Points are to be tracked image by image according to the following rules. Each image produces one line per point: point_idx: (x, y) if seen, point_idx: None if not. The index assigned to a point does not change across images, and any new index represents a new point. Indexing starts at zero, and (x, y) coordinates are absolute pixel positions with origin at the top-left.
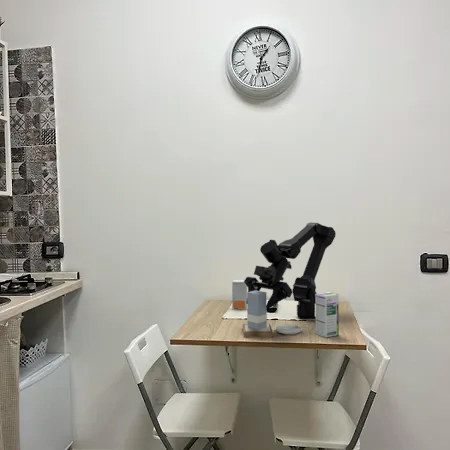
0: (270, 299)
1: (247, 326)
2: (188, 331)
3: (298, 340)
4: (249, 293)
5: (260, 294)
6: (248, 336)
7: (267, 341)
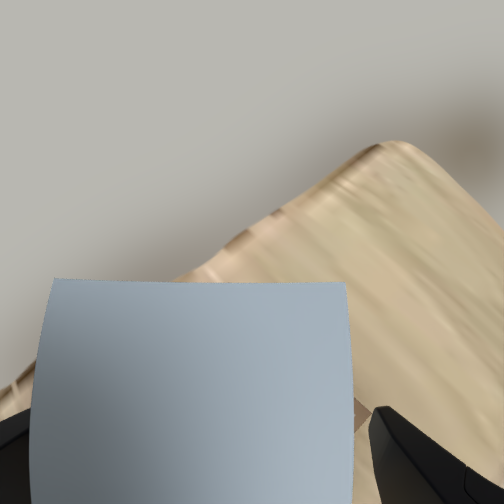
0: (10, 428)
1: None
2: (464, 208)
3: None
4: (277, 292)
5: (48, 351)
6: None
7: None
